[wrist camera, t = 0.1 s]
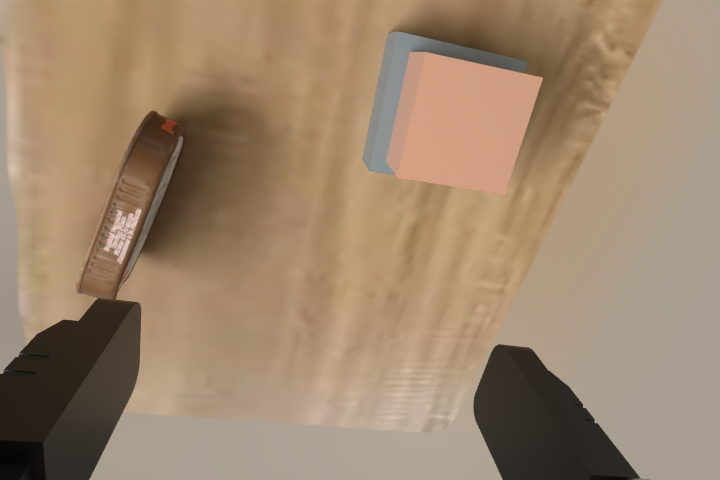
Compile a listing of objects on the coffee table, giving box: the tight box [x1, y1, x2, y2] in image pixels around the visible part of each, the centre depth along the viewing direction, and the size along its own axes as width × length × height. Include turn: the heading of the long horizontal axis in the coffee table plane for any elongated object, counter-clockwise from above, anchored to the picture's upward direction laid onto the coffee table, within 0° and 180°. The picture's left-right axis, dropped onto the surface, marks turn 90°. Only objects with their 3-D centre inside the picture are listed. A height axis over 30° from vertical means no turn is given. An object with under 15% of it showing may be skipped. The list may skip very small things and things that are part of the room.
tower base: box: [363, 31, 528, 175], centre depth 35 cm, size 10×10×4 cm
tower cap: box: [386, 52, 543, 195], centre depth 31 cm, size 8×8×4 cm
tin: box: [76, 111, 186, 300], centre depth 33 cm, size 15×3×8 cm, turn 151°
